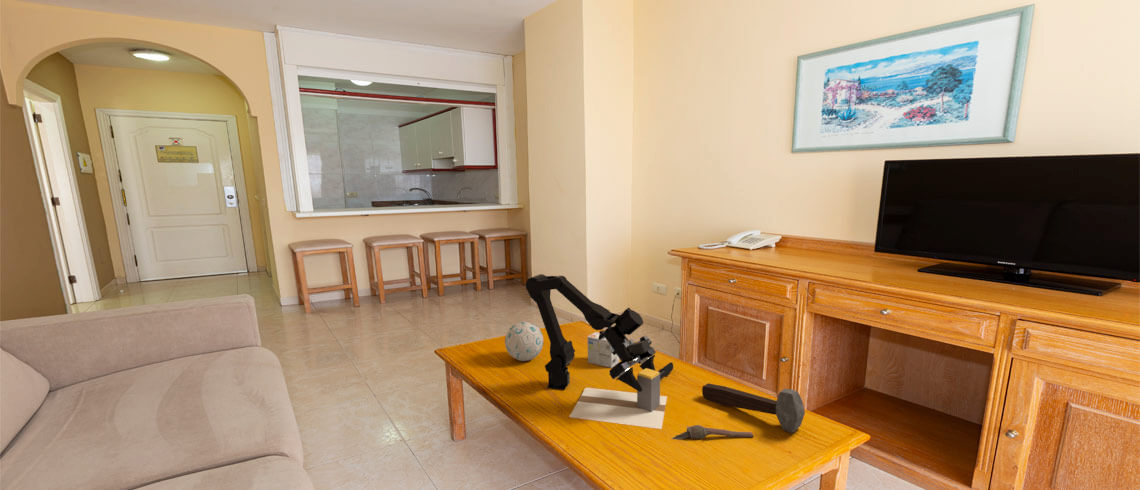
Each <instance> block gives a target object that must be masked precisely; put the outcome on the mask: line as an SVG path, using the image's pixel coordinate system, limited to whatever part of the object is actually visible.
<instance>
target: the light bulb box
mask: <svg viewBox="0 0 1140 490" xmlns="http://www.w3.org/2000/svg"><path fill="white" fill-rule="evenodd" d="M599 334H600V333H599V332H596V331H595V332H593V333H591V334H589V335H587V364H593V365H597V366H601V367H605V368H610V369H612V368H613V367H614V366H615V365H616V364H618V363H619V362H620V359H619V357H618V356H617V354H616V355H613V353H612V352H613V351H614V350H613V348H612V347H611V346H610V344H609V343H608V341H607V340H606V338H604V339H601V340H599Z"/></svg>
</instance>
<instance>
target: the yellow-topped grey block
mask: <svg viewBox="0 0 1140 490" xmlns="http://www.w3.org/2000/svg"><path fill="white" fill-rule="evenodd" d="M658 371H659V370H658ZM658 371H657V370H656V371H654V370H651V369H648V368H646V369H644V370H643V369H641V370H640V371H639V372H638V373H637V376H636V379H637V381H638V383H639V384H640V386H641V388H642V391H641V392H639V391H637V390H636V393H637V407H639V408H642V409H644V410H647V411H650V412H652V411H653V410H655V409H656V408H657V407H659V406H660V396H661V380H660V374H659V372H658Z"/></svg>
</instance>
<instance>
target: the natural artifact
mask: <svg viewBox="0 0 1140 490" xmlns="http://www.w3.org/2000/svg"><path fill="white" fill-rule="evenodd" d="M711 435H712V436H713V435H715V436H716V435H717V436H723V437H724V436H725V437H735V438H736V437H743V438H746V437H747V438H748V437H749V438H754V434H753V432H751V431H734V430H733V431H732V430H726V429H720V428H711V427H705V426H703V425H699V424H697V425H696V424H695V425H694V424H693V425H690V426H689V425H687V426H686V431H684V432H682V433H680V434H676V435H675V436H673V437H671V440H677V441H680V440H685V439H690V440H700V439H701V440H702V439H704V438H705V437H706V436H711Z"/></svg>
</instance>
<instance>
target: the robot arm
mask: <svg viewBox="0 0 1140 490" xmlns="http://www.w3.org/2000/svg"><path fill="white" fill-rule="evenodd" d="M524 286H525V290H526V291H527V294H528V295H529V297H530V298H531V299H532V300H533V301H534V302H535V303H536V306H537V308H538V311H539V313H540V316H541V320H542V323H543V325H544V328H545V331H546V334H547V337H548V340H549V342H550V343H549V345H550V347H549V355H550V356H549V357H550V361H549V360H548V362H547V363H546V364H545V365H544V368H545V371H546V372H547V373H548V375H547V377H548V380H547V381H548V383H547V384H546V385H547V386H546V388H547V389H551V390H552V389H553V390H563V391H565V390H566V389H567V387H568V386H569V385H570V380H571V379H570V378H571V377H570V376H571V375H570V371H569V367H568V366H570V364H571V363H572V361H573V360H574V359H575V352H576V350H575V348H574V346H573V341H572V340H569V341H568V340H567V339H565V337H564V334H563V332H562V328H561V327H560V323H559V320H558V317H557V314H556V311H555V309H554V306H553V303H552V300H551V290H556V291H557V292H558V293H560V294H561V295H562V296H563V297H564V298H566V299H567V300H568V301H569V302H570V303H571V304H572V305H573V306H575V308H577V309H578V310H579V311H580V312H581V313H582V314H583V317H584V319H585V321H586V322H587V323H588V325H589V326H590V327H591V328H592V329H593V330H595V331H598V333H600V334H599V340H601V339H604V338H606V340H607V341H608V343H609V344H610V346H611V347H612V348H613V350H614V351H613V352H612V353H613V355H616V354H617V356H618V357H619V363H618V364H616V365H615V366H614V367H612V368H610V370H609V376H610V377H611V378H612V380H616V381H620V382H622V383H623V384H626V385H628V386H629V387H631V388H632V389H634V390H636V392H637V391H639V392H641V391H642V388H641V386H640V384H639V383H638V381H637V377H636V376H635V374H634V367H633V366H634V365H637V364H639V368H640V369H641V370H644V369H646V368H648V369H651V370H654V371H657V370H656V368H655V364H654V358H655V357H656V353H657V351H656V350H655V348H654V347H652V346H651V345H652V340H651V339H650V337H648V336H647V335H643V336H641V337H640V338H639V340H638V341H636V342H635V341H634V340H633V339H632V338H631V339H628V338H627V336H626V335H628V336H631V335H632V334H633V333H635V331H637V330H638V329H639V328H640V327H641V326H643V325H644V320H643V318H642V316H641V314H639V313H638V312H636V311H635V310H633V309H631V308H630V307H627V308H626V309H624V311H623V312H622V313H621V314H617V313H614V312H611V311H610V309H607V308H606V307H604V306H602V304H598V303H595V302H594V301H592V300H591V299H590V298H588V297H587V296H586V295H585V293H582V291H580V290H579V289H578V288H577V287H576V286H575V285H574V284H572V283H571V282H570V281H569V280H568V279H567V277H566V276H565V275H545V274H542V273H540V274H537V275H534V276H531V277H529V278H528V279H527V280H526V283H525V285H524ZM604 328H605V330H604Z"/></svg>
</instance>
